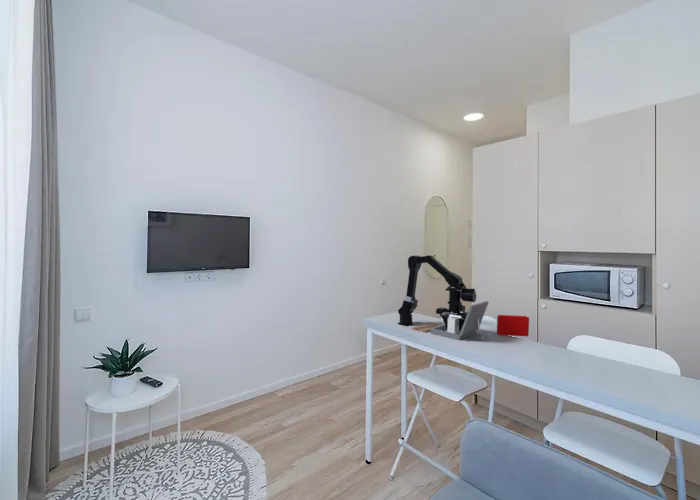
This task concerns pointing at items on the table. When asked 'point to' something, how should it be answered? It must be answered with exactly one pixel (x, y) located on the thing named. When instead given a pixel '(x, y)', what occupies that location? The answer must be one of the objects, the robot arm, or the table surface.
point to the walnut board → (426, 327)
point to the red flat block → (512, 325)
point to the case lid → (473, 317)
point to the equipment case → (452, 335)
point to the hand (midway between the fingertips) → (453, 329)
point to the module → (453, 325)
